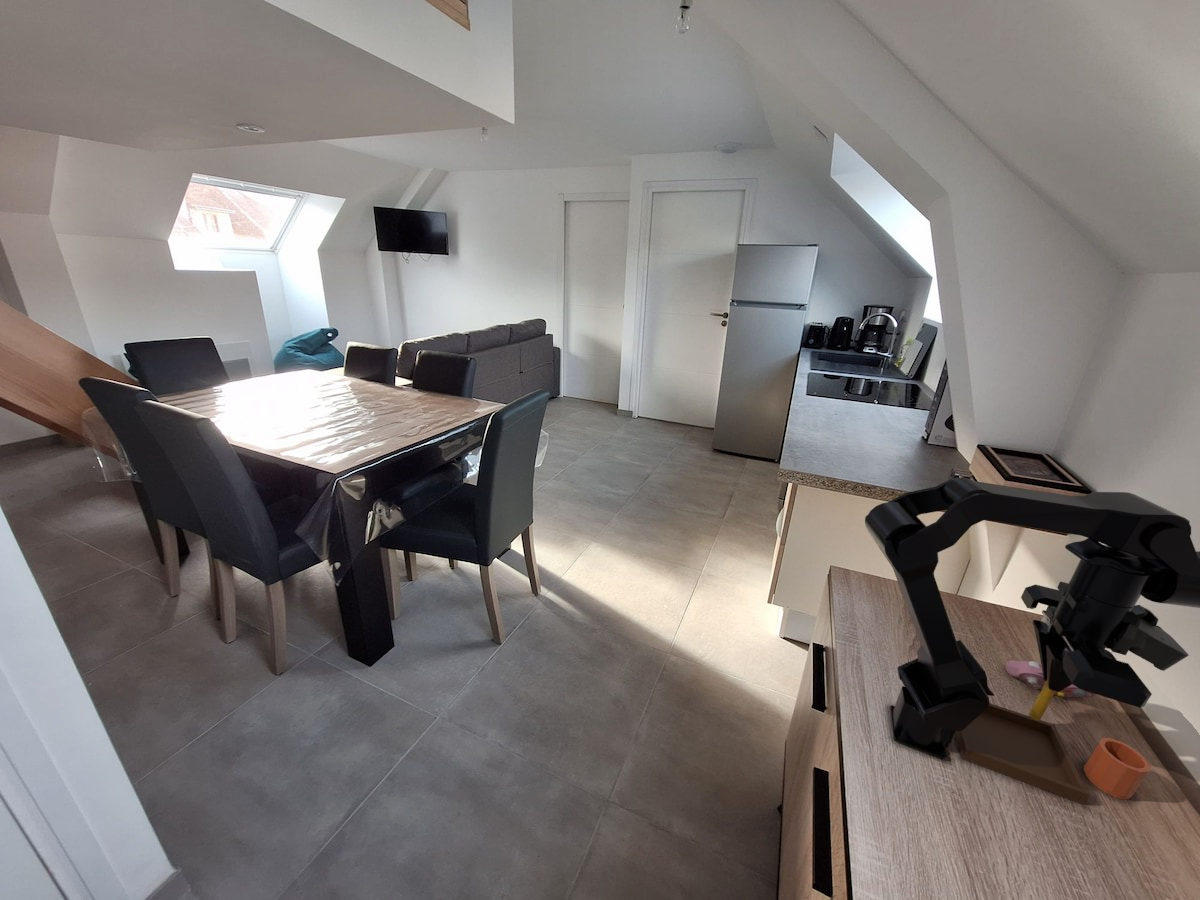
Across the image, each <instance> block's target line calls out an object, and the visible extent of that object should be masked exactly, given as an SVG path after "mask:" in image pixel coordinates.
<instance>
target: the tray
mask: <svg viewBox="0 0 1200 900" xmlns="http://www.w3.org/2000/svg"><path fill="white" fill-rule="evenodd" d="M954 736H955V739H956V742H957V746H958V749H959V750H958V751H959V754H960V757H961V759H962V760H963V761H964V760H965V761H966V762H969V763H972V764H975V765H977V766H981V767H983V768H986V769H988V770H991V771H994V772H996V773H999V774H1002V775H1004V776H1006V777H1009V778H1012V779H1014V780H1017V781H1020V782H1022V783H1025V784H1028V785H1030V786H1033V787H1036V788H1039V789H1041V790H1044V791H1046V792H1049V793H1052V794H1054V795H1056V796H1060V797H1061V798H1065V799H1067V800H1070V801H1073V802H1075V803H1078V804H1080V805H1084V804H1085V802H1086V801H1087V799H1088V798H1089V797H1090V793H1089V791H1088V789H1087V787H1086V785H1085V782H1084V781H1083V778H1082V777H1081V775H1080V773H1079V771H1078V769H1077V767H1076V765H1075V762H1074V761H1073V759H1072V757H1071V755H1070V753H1069V751H1068V749H1067V746H1066V745H1065V743H1064V741H1063V739H1062V737H1061V735H1060V733H1059V731H1058V729H1057V727H1056V725H1055V724H1053V723H1050V722H1049V721H1045V720H1042V719H1040V721H1036V720H1034V719H1032V718H1031V717H1030V716H1029V715H1026V714H1024V713H1020V712H1018V711H1015V710H1012V709H1008V708H1005V707H1003V706H1000V705H996V704H994V703H991V702H989V706H988V708H984V711H983V712H982V713H981V714H980V715H979V716H978V717H977V718H976V719H975V720H974V721H972V722H971V723H970V724H969V725H968V726H967V727H966V728H965V729H963V730H962V731H956V732H955V734H954Z"/></svg>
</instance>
